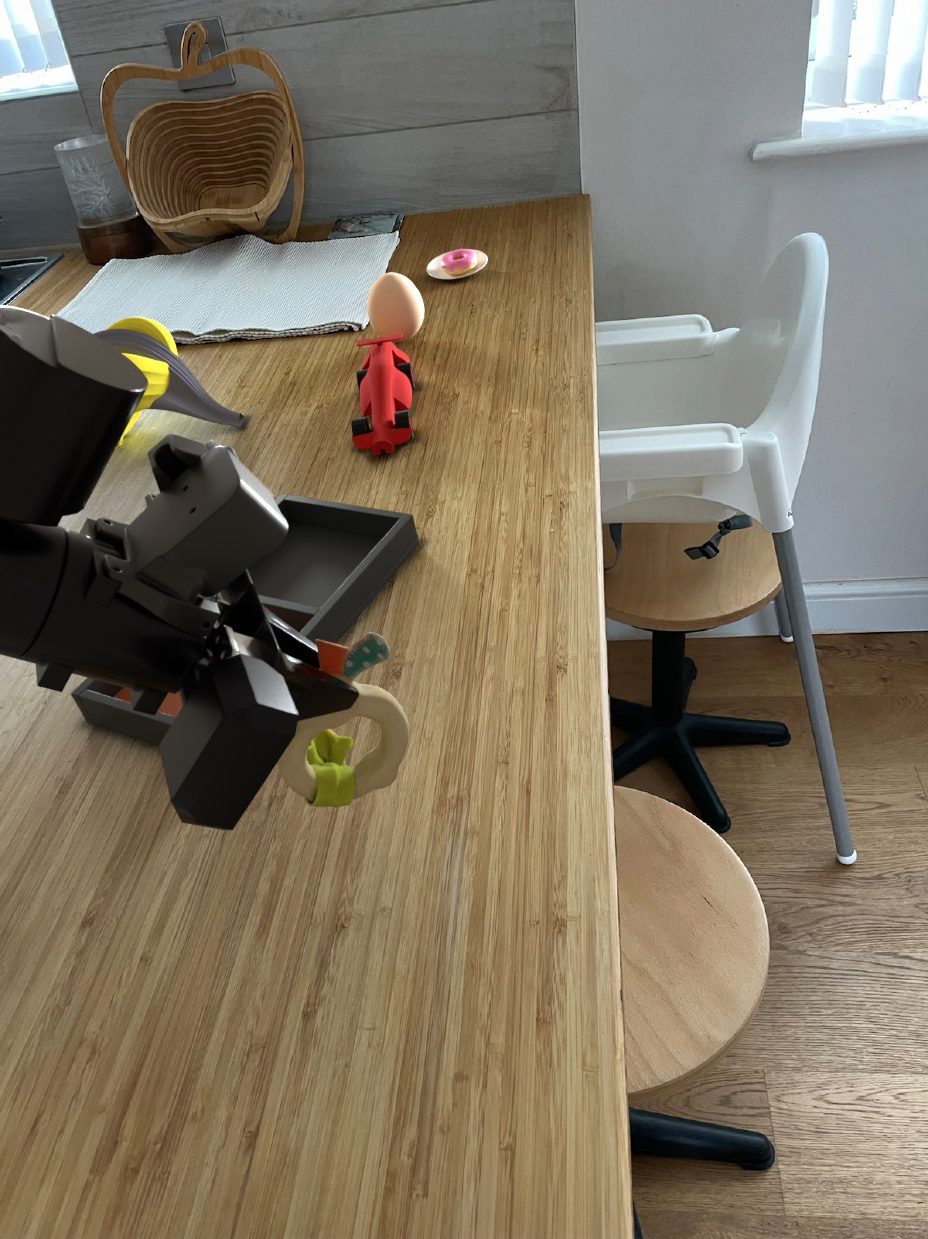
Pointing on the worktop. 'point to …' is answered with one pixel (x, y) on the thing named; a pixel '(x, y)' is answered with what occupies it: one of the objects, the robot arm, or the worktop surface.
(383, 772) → the rattle
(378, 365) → the toy car
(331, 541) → the tray
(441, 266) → the donut
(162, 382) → the yellow grey curved horn
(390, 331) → the egg
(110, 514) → the worktop surface
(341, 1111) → the worktop surface
